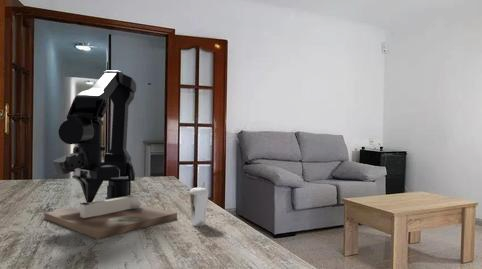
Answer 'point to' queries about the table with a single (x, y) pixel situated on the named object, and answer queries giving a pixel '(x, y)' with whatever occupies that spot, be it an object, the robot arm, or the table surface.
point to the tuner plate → (110, 220)
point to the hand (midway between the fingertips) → (89, 202)
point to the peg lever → (109, 206)
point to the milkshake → (198, 205)
